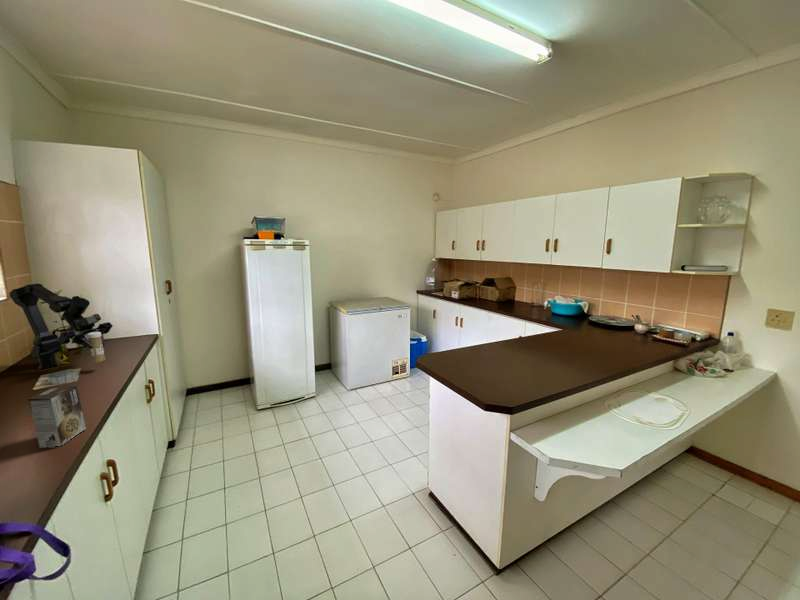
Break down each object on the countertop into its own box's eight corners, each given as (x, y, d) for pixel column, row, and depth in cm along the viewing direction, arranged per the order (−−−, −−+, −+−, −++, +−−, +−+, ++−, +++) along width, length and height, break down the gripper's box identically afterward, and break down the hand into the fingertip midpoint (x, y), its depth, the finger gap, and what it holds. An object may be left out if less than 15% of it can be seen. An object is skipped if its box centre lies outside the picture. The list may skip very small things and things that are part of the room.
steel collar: (50, 379, 143) (49, 372, 142) (79, 374, 148) (77, 367, 148) (47, 386, 136) (45, 379, 135) (76, 380, 142) (75, 374, 141)
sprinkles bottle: (104, 361, 150) (99, 333, 147) (91, 363, 147) (85, 334, 145) (106, 358, 153) (101, 330, 151) (93, 360, 151) (88, 332, 148)
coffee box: (66, 430, 107) (56, 384, 104) (87, 429, 107) (78, 384, 104) (38, 448, 98) (26, 398, 95) (61, 447, 98) (50, 397, 95)
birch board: (41, 377, 147) (40, 375, 147) (81, 370, 155) (80, 368, 155) (33, 392, 133) (32, 389, 133) (77, 383, 141) (77, 380, 141)
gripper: (57, 314, 138) (81, 341, 137) (106, 305, 156) (127, 329, 155) (48, 330, 141) (71, 357, 141) (97, 320, 159) (117, 344, 158)
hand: (98, 346), depth 149 cm, fingers closed on sprinkles bottle, 4 cm apart
